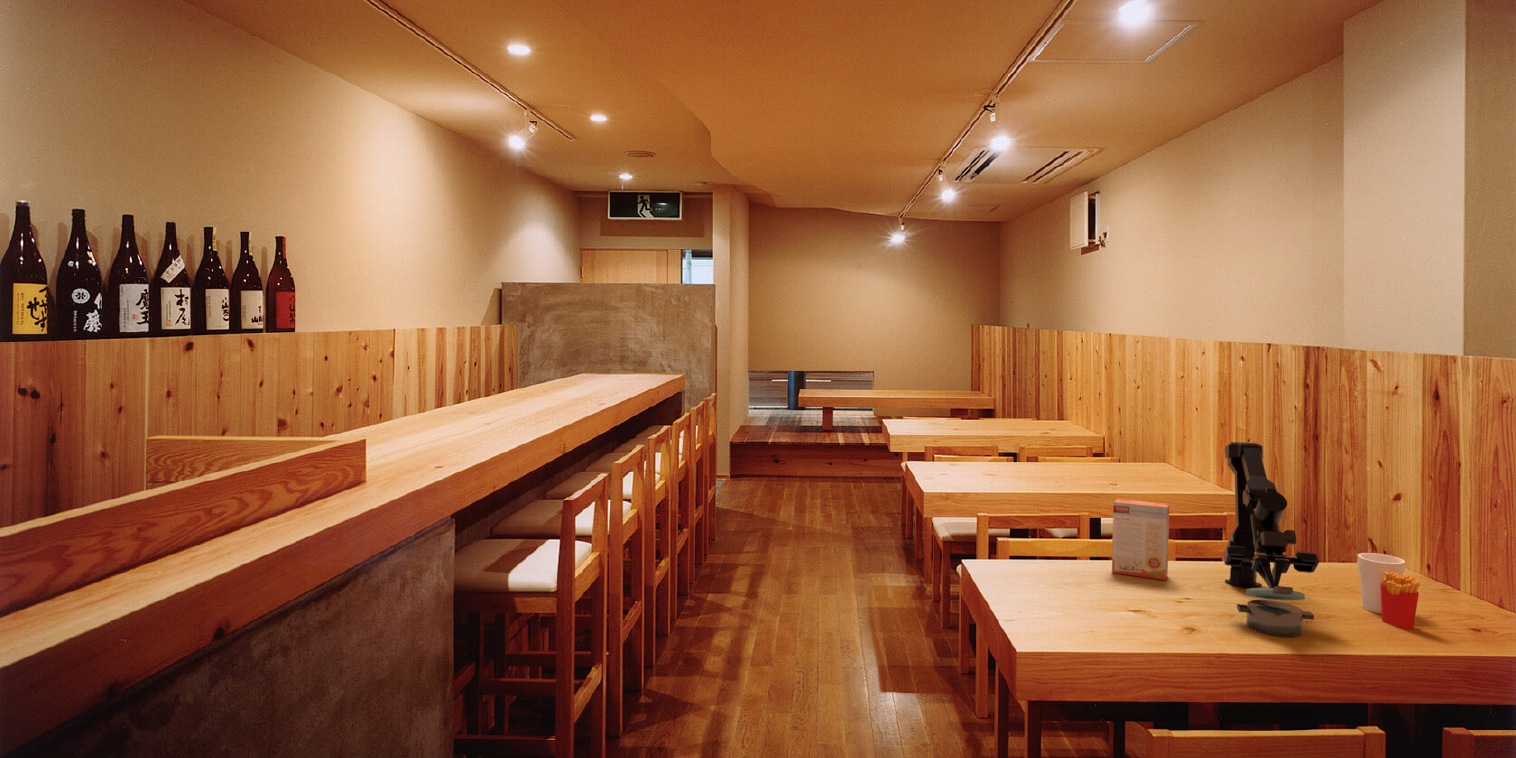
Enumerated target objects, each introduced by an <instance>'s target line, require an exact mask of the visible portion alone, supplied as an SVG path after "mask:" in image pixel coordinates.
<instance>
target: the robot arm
mask: <svg viewBox="0 0 1516 758" xmlns="http://www.w3.org/2000/svg"><path fill="white" fill-rule="evenodd" d="M1224 457H1225V459H1226V460H1227V466H1228V468H1229V469H1230V470H1231V471H1232V473H1233V474H1234V494H1235V495H1234V500H1235V527H1234V529H1233V530H1232V531H1231V533H1230V535H1229V540H1228V541H1227V544H1226V548H1225V551H1224V554H1223V562H1224V565H1226V566H1230V568H1229V569H1230V570H1229V572H1230V573H1229V574H1230V575H1229V579H1225V580H1224V582H1225V583H1226V584H1229V585H1233V586H1236V587H1239V588H1243V589H1245V590H1246V589H1250V588H1259V587H1262V586H1263V585H1262V583H1260V582H1257V574H1258V575H1259V576H1260V577H1261V579H1262V580H1263V581H1264V582H1265V584H1266V585H1267V587H1268V588H1269V589H1273V588H1274V587H1276V586H1280V581H1281V578H1282V574H1287V572H1288V571H1289V569H1290V567H1291V565H1293V569H1294V570H1295V571H1297V572H1299V573H1307V574H1311V573H1314V572H1315V571H1316V569H1317V567H1318V566H1319V564H1320V560H1319V555H1317V553H1315V552H1314V551H1303V550H1302V551H1301V550H1297V551H1296V554H1295V555H1284V553H1286V552H1287V547H1288V545H1296V544H1297V534H1296V530H1293V529H1285V530H1284V531H1283V532H1282V531H1280V524H1279V522H1280V521H1281V520H1282V518H1283V516H1284V514H1285V511H1286V509H1287V507H1288V500H1287V499H1286V497H1284V495H1282V494H1281V493H1280V492H1278V490H1277V487H1276V485H1275V483H1273V482H1272V481H1271V480H1269V479H1268V476H1267V473H1266V469H1265V465H1264V461H1263V459H1264V446H1263V445H1261V444H1259V443H1257V442H1240V441H1230V443H1229V444H1226V445H1225V448H1224ZM1271 563H1273V567H1272V569H1271Z"/></svg>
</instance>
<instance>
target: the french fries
mask: <svg viewBox="0 0 1516 758" xmlns="http://www.w3.org/2000/svg"><path fill="white" fill-rule="evenodd" d="M1420 585H1421V582H1420V581H1419V580H1418V579H1416V578H1415V577H1414V576H1413V575H1411V576H1410V575H1409V574H1406V575H1404V574H1403V575H1402V574H1398V573H1394V572H1390V573H1389V572H1384V576H1383V583H1380V587H1381V610H1382V613H1381V620H1382V622H1383V623H1386V624H1388V625H1391V626H1393V627H1396V628H1399V629H1405V630H1412V629H1414V627H1415V626H1414V625H1415V619H1416V613H1417V607H1418V600H1419V595H1420V593H1419V591H1418V590H1419V587H1420Z"/></svg>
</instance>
